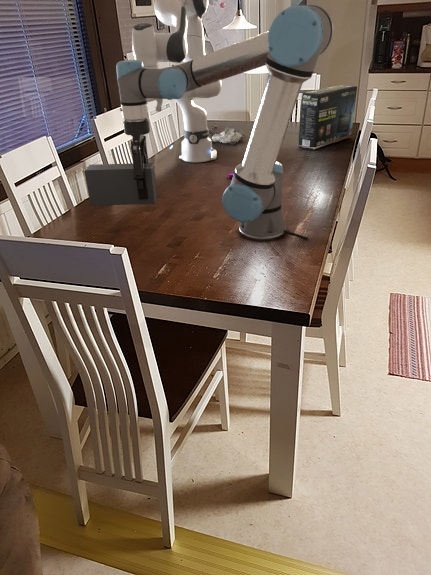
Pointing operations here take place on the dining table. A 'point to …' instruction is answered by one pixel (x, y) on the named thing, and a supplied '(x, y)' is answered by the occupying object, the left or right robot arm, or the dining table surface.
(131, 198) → the box
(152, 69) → the right robot arm
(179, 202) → the dining table surface
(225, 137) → the fossil
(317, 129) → the router box
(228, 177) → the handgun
